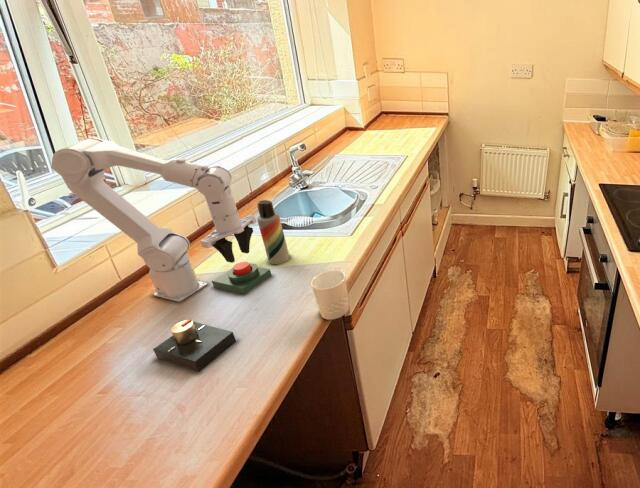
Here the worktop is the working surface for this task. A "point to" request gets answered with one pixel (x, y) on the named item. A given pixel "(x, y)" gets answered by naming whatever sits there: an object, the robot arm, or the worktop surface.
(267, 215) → the lotion bottle
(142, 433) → the worktop surface
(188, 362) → the dial panel
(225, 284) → the button block
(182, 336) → the dial
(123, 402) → the worktop surface
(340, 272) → the white cup
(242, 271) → the button
